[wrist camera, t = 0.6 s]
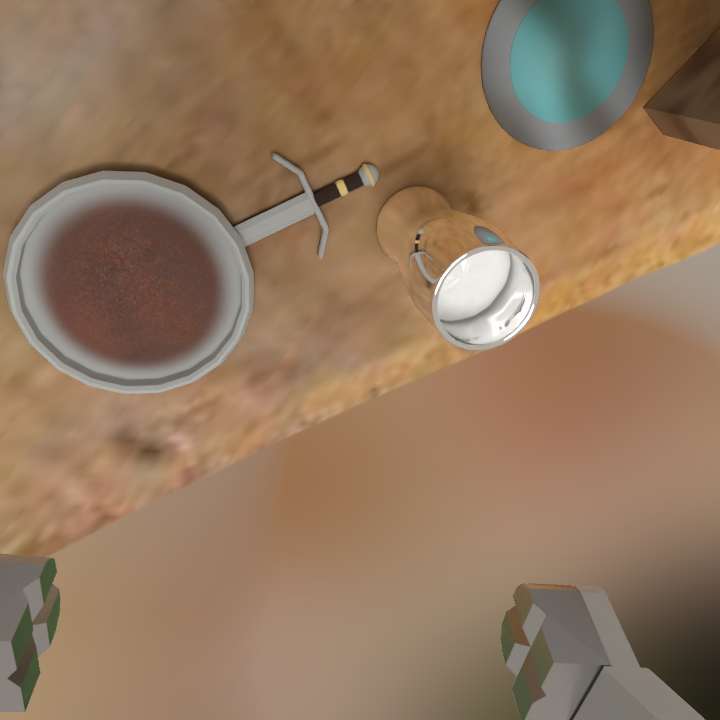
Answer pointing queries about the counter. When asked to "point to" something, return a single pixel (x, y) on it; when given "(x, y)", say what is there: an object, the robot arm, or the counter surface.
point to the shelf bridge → (589, 73)
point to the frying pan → (142, 276)
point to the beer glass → (458, 269)
